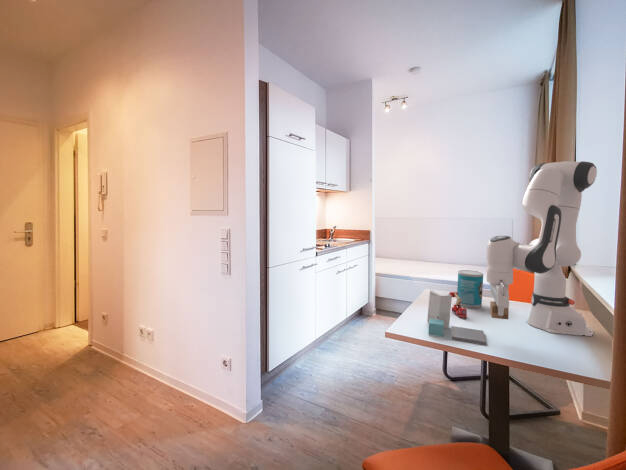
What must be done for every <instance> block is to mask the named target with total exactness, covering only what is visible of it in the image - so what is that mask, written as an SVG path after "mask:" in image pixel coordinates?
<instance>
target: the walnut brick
mask: <svg viewBox="0 0 626 470" xmlns="http://www.w3.org/2000/svg"><path fill="white" fill-rule="evenodd" d="M489 303H490V304H489V309H490V310H489V311H490V312H489V313H490V316H491V318H492V319H500V320H509V316H510V315H509V308H510V306H509V307H508V308H504V315H503V316H499V315H498V307H497V304H496V302H495V301H494V300H493V301H490V302H489Z"/></svg>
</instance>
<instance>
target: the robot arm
mask: <svg viewBox="0 0 626 470" xmlns="http://www.w3.org/2000/svg"><path fill="white" fill-rule="evenodd" d="M597 172H598V169H597V166H596V165H595V164H594V163H593V162H590V161H572V160H571V161H569V160H568V161H566V160H565V161H556V162H555V161H554V162H547V163H546V162H542V163H538V164H536V165H534V166H533V167H532V168H531V170H530V172H529V174H528V175H529V177H528V179H529V183H528V186H527V188H526V190H525V193H524V195H523V198H522V202H521V203H522V208H523V210H524V211H525V212H526V213H527V214H529V215H530V216H532V217H534V218H536V219H538V220H540V222H541V225H540V232H539V235H538V236H539V237H537V238H535V239H533V240H531V241H530V242H529V244H525V243H520V242H517V241H515V240H514V239H513V238H512V237H511V236H509V235H496V236H493V237H491V238H489V239H488V241H487V247H486V260H487V267H486V283H489V289H490V290H489V291H490V293H491V296H492V298H493V301H494V302H496V304H497V307H498V315H499V316H503V315H504V308H508V307H509V308H510V293H509V288H510V285H512V284H513V283H514V269H513V268H518V269H521V270H525V271H526V270H527V271H530V272H533V273H534V283H533V284H534V285H533V291H532V295H531V302H530V303H531V308H530V309H531V310H530V313H529V316H528V318H527V321H526V322H527V324H528V325H530V326H532V327H533V328H537V329H540V330H544V331H546V332H548V333H551V334H561V335H569V336H570V335H571V336H582V335H585V336H584V337H593V336H594V332H593V330H592V329H591V328H590V327H588V326H587V321H586V319H585V317H584V316H583V315H582V314H581V313H580V312H579V311H577V310H576V309H575V308H574V307H572V306H574V305H575V303H576V302H575V300H573V299H571V298H569V297H567V296H566V291H567V289H566V287H567V278H566V276H565V274H564V272H563V269H562V267H571V266H574V265H576V264H577V263H578V262H580V260H581V257H582V252H581V249H580V247H579V246H578V244H577V237H576V233H577V232H576V229H577V222H578V218H579V212H580V210H581V206H582V205H581V204H582V196H583V195H582V194H583V192H584V191H585V190H586V189H588V188H590V187H591V186H592V185H593V184H594V183H595V181H596V178H597ZM592 335H593V336H592Z"/></svg>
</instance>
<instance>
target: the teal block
mask: <svg viewBox="0 0 626 470" xmlns="http://www.w3.org/2000/svg"><path fill="white" fill-rule="evenodd" d="M443 323H444V321H443V320H436V319H429V323H428V332H427V333H428V334H429V336H436V337H440V338H441V337H442V338H443V337H444V328H443Z"/></svg>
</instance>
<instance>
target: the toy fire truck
mask: <svg viewBox="0 0 626 470" xmlns="http://www.w3.org/2000/svg"><path fill="white" fill-rule="evenodd" d="M448 294H450V295H452V298H456V302H455V304H453V306H451V311H452V314H454V315H456V316H457V317H458V318H460V319H466V318H468V312H467V308H465V307H462V306H461V305H460V303H461V302H462V301H461V298H459V297H458V293H457V291H456V292H455V291H453V292H452V291H451V292H450V291H449V293H448Z"/></svg>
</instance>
